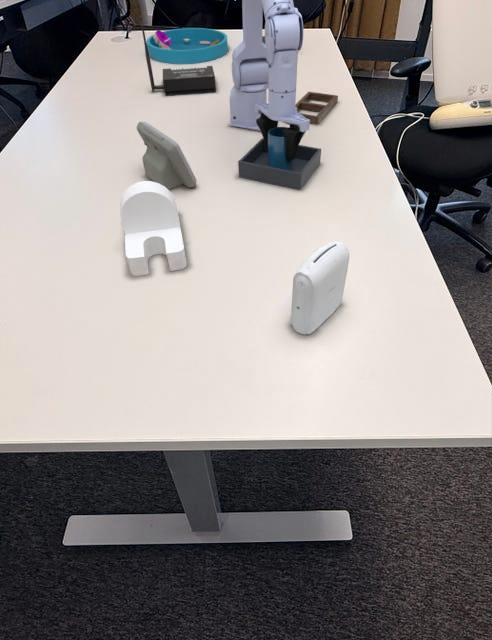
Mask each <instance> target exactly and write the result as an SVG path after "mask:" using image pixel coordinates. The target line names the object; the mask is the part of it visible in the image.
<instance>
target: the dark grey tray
mask: <svg viewBox="0 0 492 640" xmlns="http://www.w3.org/2000/svg"><path fill="white" fill-rule="evenodd" d="M321 158H322V148H318V147H313V146H308V145H303V144H302V145H301V144H299V146H298V149H297V152H296V155H295V159H293V169H292V170H291V171H289V170H284V169H279V168H274V167H269V166H268V152H267V151H266V147H265V143H264V139H263V137H262V138H261V139H260V140H259V141H257V142H256V144H254V145H253V146H252V147H251V148H250V149H249V151H247V152H246V153H245V154H244V155H243V156H242V157H241V158H240V159H239V160H238V161H237V165H238V166H237V167H238V178H240V179H241V178H242V179H246V180H251V181H255V182H261V183H265V184H271V185H275V186H279V187H284V188H289V189H294V190H299V191H301V190H302V189H303V188H304V186H305V185H306V183H307V182H308V181H309V180H310V178H311V177H312V175H313V174H314V173H315V172H316V171H317V169H318V168H319V166H320V165H321Z"/></svg>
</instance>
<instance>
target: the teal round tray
mask: <svg viewBox="0 0 492 640" xmlns="http://www.w3.org/2000/svg"><path fill="white" fill-rule="evenodd" d="M146 43H147V48H148V52H149V56H150V59H153V60H154V61H157V62H161V63H167V64H175V65H176V64H177V65H178V64H179V65H182V64H183V65H185V64H187V65H188V64H198V63H205V62H209V61H214V60H217V59H220V58H222V57H224V56H225V55H226V54H227V53H228V51H229V46H228V45H229V44H228V35H227V34H226V33H225V32H223V31H220V30H217V29H214V28H205V27H204V28H203V27H183V28H174V29H168V30H164V31H162V30H159V29H157V30H156V31H155V33H154V34H151V35H150V36H149V37H148V38H146Z"/></svg>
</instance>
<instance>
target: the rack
mask: <svg viewBox="0 0 492 640" xmlns="http://www.w3.org/2000/svg"><path fill="white" fill-rule="evenodd" d="M338 100H339V95H338V94H337V95H336V94H331V93H322V92H315V91H308V92H307V93H306V94H305V95H304V96H303V97H301V99H299V100H298V102H296V103H295V107H297V112H299V113H300V114H301V115H302V116H304V117H305V118H307V119H309V120H310V124H312V125H319V124H320V123H321V122H322V121H323V119H324V118H325V117H326V116H327V115H328V113H330V112H331V110H332V109H333V108H334V107H335V106H336V104H337V103H338ZM309 101H317V102H325V103H326V104H322V103H314V102H309ZM301 110H303V111H308V112H314V113H315V112H316V113H317V114H315V115H314V114H310V113H309V114H308V113H301V112H300V111H301Z"/></svg>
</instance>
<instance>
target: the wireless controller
mask: <svg viewBox="0 0 492 640" xmlns="http://www.w3.org/2000/svg"><path fill="white" fill-rule="evenodd" d="M141 33H142V38H143V44H144V52H145V53H144V54H145V59H146V65H147V66H146V67H147V72H148V77H149V82H150V88H151V91H152V92H155V91H158V90H163V91H164V96H165V97H168V96H169V97H171V96H183V95H184V96H186V95H199V94H211V93H212V94H213V93H217V87H216V86H217V85H216V76H215V72H214V71H215V70H214V67H213V65H207V66H206V67H199V66H198V67H194V68H183V67H182V68H181V69H180V67H179V69H177V68H176V69H172V68H162V83H163V84H158V85H155V79H154V73H153V68H152V62H151V57H150V56H149V52H148V48H147V43H146V41H147V38H146V32H145V28H144V24H141Z"/></svg>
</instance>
